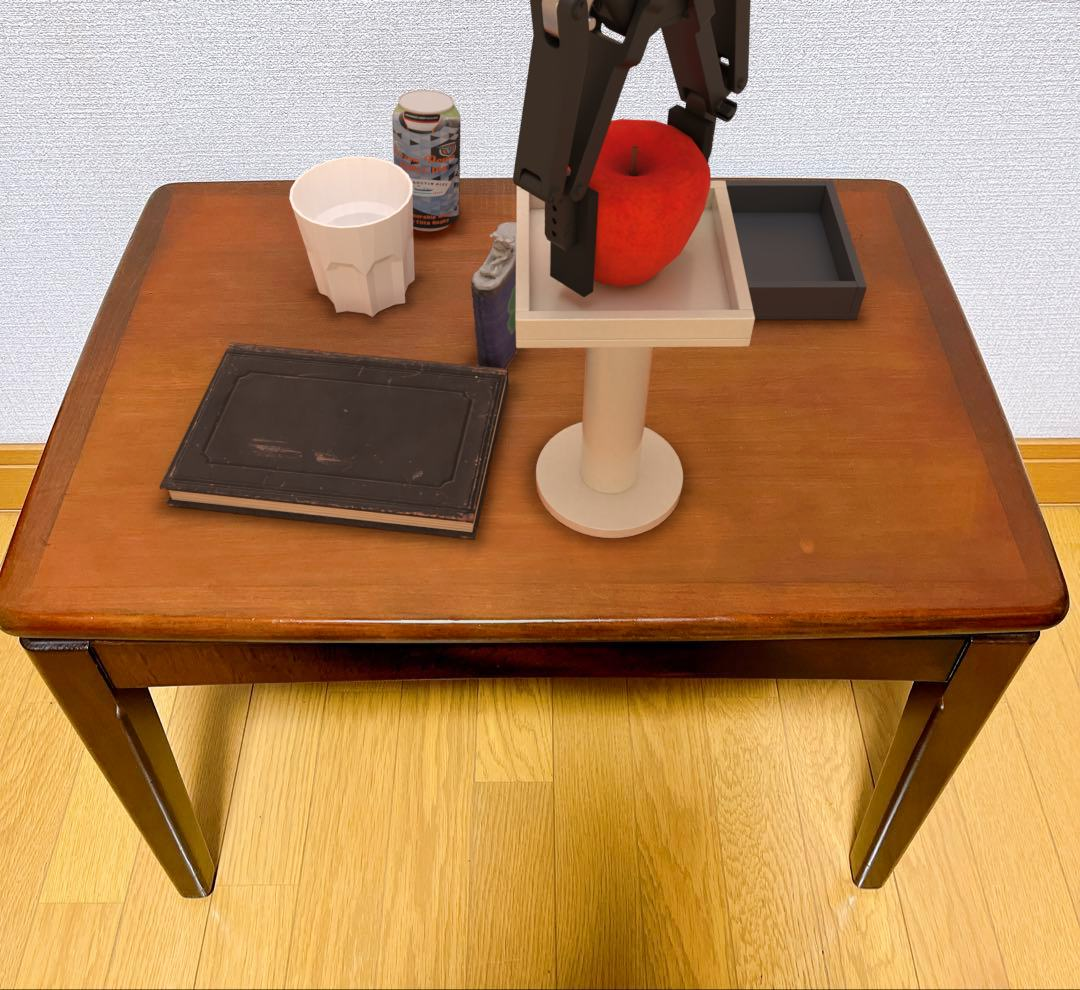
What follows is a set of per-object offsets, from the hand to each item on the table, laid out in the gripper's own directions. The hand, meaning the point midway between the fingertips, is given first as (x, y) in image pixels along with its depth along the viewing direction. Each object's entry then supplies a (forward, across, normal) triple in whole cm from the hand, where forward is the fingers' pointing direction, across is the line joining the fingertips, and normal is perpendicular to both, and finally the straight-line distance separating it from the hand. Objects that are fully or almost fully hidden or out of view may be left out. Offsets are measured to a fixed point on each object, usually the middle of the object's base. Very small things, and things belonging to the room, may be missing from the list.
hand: (627, 247), depth 60 cm
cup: (+22, -2, -31) cm, 37 cm away
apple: (+2, 0, 0) cm, 2 cm away
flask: (+22, -5, -17) cm, 28 cm away
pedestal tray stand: (+21, 0, 0) cm, 21 cm away
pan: (+21, -29, -8) cm, 37 cm away
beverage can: (+22, -12, -34) cm, 42 cm away
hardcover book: (+22, +12, -17) cm, 30 cm away
